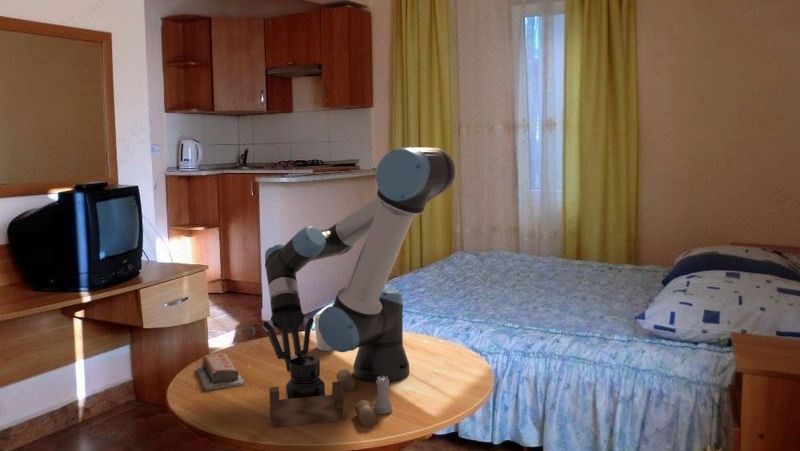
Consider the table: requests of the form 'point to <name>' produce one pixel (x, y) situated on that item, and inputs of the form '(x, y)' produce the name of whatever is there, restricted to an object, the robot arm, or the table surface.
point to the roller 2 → (365, 413)
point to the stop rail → (306, 408)
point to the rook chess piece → (382, 396)
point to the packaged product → (218, 372)
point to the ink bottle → (305, 378)
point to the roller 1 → (345, 379)
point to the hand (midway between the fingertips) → (297, 382)
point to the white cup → (320, 336)
